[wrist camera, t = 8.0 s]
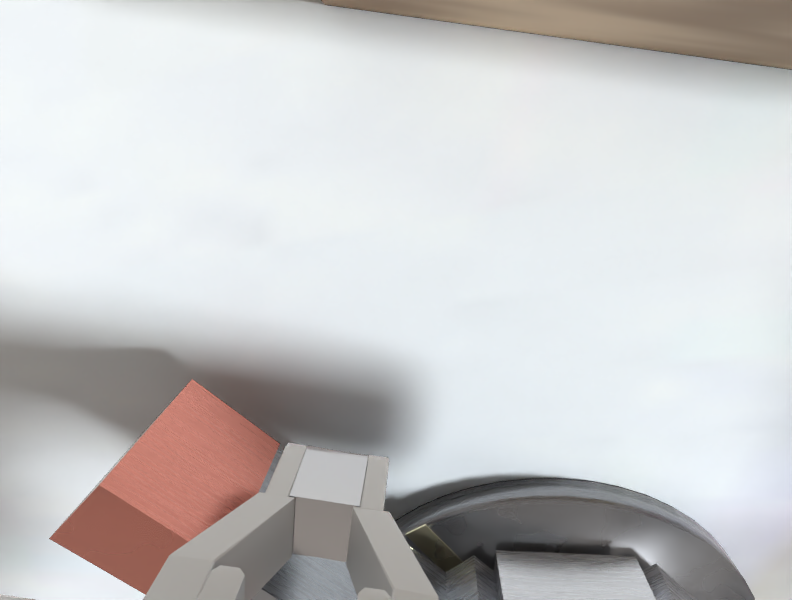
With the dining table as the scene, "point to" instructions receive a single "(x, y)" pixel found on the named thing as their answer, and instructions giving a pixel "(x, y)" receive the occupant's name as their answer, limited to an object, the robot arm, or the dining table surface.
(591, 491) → the domed metal lid
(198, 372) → the dining table surface
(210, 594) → the robot arm
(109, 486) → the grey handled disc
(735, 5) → the square wooden frame
